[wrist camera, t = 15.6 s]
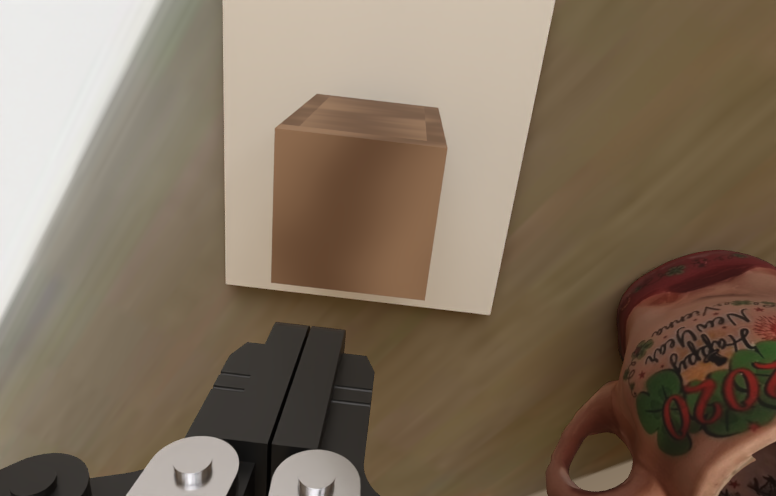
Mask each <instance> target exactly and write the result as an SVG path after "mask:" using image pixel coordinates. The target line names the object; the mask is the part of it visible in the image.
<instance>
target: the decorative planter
mask: <svg viewBox="0 0 776 496" xmlns="http://www.w3.org/2000/svg"><path fill="white" fill-rule="evenodd" d="M617 327H618V347H619V353H620V356H621V359H622V361H623V366H622V369H621V372H620V376H619V380H617V381H609V382H608V383H606V384H605V385H604V386H602V387H601V388H600V389H599V390H598V391H597V392H596V393H595V394H594V395H593V396H592V397H591V398H590V399H589V400H588V401H587V402H586V403H585V404H584V405H583V406H582V407H581V408H580V409H579V410H578V411H577V412H576V414H575V416H574V417H573V419H572V420H571V422H570V423H569V424H568V425H567V426H566V428H565V429H564V431H563V433H562V435H561V438H560V440H559V442H558V444H557V446H556V448H555V450H554V452H553V454H552V456H551V462H550V464H549V466H548V468H547V470H546V487H547V494H548V496H776V267H774V266H773V265H772V264H770V263H768V262H766V261H764V260H762V259H759V258H757V257H754V256H751V255H747V254H743V253H738V252H733V251H725V250H712V251H704V252H698V253H694V254H690V255H687V256H683V257H680V258H677V259H674V260H672V261H669V262H667V263H665V264H663V265H661V266H659V267H658V268H656V269H654V270H652V271H650V272H648V273H647V274H645V275H644V276H642V277H641V278H639V279H638V280H636V281H635V282H634V283H633V284H632V285H631V286H630V287H629V288H628V289H627V290H626V292H625V293H624V295H623V296H622V299H621V301H620V303H619V307H618V310H617ZM603 432H610V433H614V434H616V435H617V436H618V437H619V438H620V439H621V440H622V441H623V442H624V443H625V444H626V446H627V447H628V449H629V451H630V453H631V455H632V457H633V465H632V470H631V472H630V474H629V477H628V478H627V479H626V480H625V481H624V482H623V483H621V484H620V485H618V486H617V487H615V488H612V489H609V490H606V491H599V492H591V491H586V490H583V489H581V488H579V487H578V486H577V485H576V484H575V483H574V482H573V481H572V480H570V477H569V467H570V464H571V462H572V460H573V458H574V456H575V454H576V452H577V451H578V449H579V447H580V445H581V444H582V442H583V440H584V439H585V438H586V437H587V436H588V435H594V434H598V433H603Z"/></svg>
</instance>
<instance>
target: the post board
mask: <svg viewBox="0 0 776 496" xmlns="http://www.w3.org/2000/svg"><path fill="white" fill-rule="evenodd" d="M554 4H555V0H223V72H224V168H225V264H226V284H229V285H238V286H246V287H255V288H263V289H272V290H280V291H289V292H297V293H306V294H314V295H323V296H331V297H340V298H349V299H357V300H366V301H374V302H383V303H391V304H400V305H408V306H417V307H425V308H434V309H442V310H451V311H459V312H468V313H476V314H485V315H490V313H491V308H492V304H493V299H494V294H495V289H496V284H497V279H498V275H499V270H500V265H501V260H502V255H503V250H504V246H505V241H506V236H507V231H508V226H509V221H510V217H511V212H512V207H513V202H514V197H515V192H516V188H517V183H518V178H519V173H520V168H521V163H522V159H523V154H524V149H525V144H526V139H527V134H528V130H529V125H530V120H531V115H532V110H533V105H534V101H535V96H536V91H537V86H538V81H539V76H540V72H541V67H542V62H543V57H544V52H545V47H546V43H547V38H548V33H549V28H550V23H551V18H552V14H553V9H554ZM316 94H324V95H332V96H341V97H350V98H358V99H367V100H376V101H384V102H393V103H402V104H410V105H419V106H428V107H436V108H438V109H439V113H440V117H441V122H442V126H443V130H444V135H445V139H446V144H447V148H448V149H447V155H446V162H445V169H444V175H443V182H442V189H441V195H440V202H439V209H438V215H437V222H436V229H435V235H434V242H433V249H432V255H431V262H430V269H429V275H428V282H427V289H426V296H425V301H424V300H415V299H407V298H398V297H389V296H381V295H372V294H364V293H355V292H346V291H338V290H329V289H320V288H312V287H303V286H295V285H286V284H277V283H271V260H272V219H273V178H274V137H275V128H276V127H277V126H278V125H279V124H281V123H282V122H283V121H284V120H285V119H287V118H288V117H289V116H290V115H292V114H293V113H294V112H295V111H296V110H298V109H299V108H300V107H301V106H303V105H304V104H305V103H306V102H307V101H309V100H310V99H311V98H312V97H314V96H315V95H316Z"/></svg>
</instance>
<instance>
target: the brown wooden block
mask: <svg viewBox="0 0 776 496" xmlns="http://www.w3.org/2000/svg"><path fill="white" fill-rule="evenodd" d="M447 149H448V148H447V144H446V139H445V135H444V130H443V126H442V122H441V117H440V113H439V109H438V108H436V107H428V106H419V105H410V104H402V103H393V102H384V101H376V100H367V99H358V98H350V97H341V96H332V95H324V94H316V95H315V96H314V97H312V98H311V99H310V100H309V101H307V102H306V103H305V104H304V105H303V106H301V107H300V108H299V109H298V110H296V111H295V112H294V113H293V114H292V115H290V116H289V117H288V118H287V119H285V120H284V121H283V122H282V123H281V124H279V125H278V126H277V127H276V128H275V137H274V178H273V219H272V260H271V283H277V284H286V285H295V286H303V287H312V288H320V289H329V290H338V291H346V292H355V293H364V294H372V295H381V296H389V297H398V298H407V299H415V300H424V301H425V296H426V289H427V282H428V275H429V269H430V262H431V255H432V249H433V242H434V235H435V229H436V222H437V215H438V209H439V202H440V195H441V189H442V182H443V175H444V169H445V162H446V155H447Z"/></svg>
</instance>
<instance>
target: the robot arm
mask: <svg viewBox="0 0 776 496" xmlns="http://www.w3.org/2000/svg"><path fill="white" fill-rule="evenodd" d="M345 336H346V331H345V330H341V329H332V328H324V327H315V326H312V327H311V329H310V326H305V325H297V324H288V323H280V322H276V323H275V324H274V326H273V328H272V330H271V332H270V335H269V337H268V339H267V341H266V343H265V344H258V343H249V342H247V343H246V344H244V345H243V346H242V347H240V348H239V349H238V350H236V351H235V352H234V353H232V354H231V355H230V356H229V358H228V360H227V361H226V363H225V365H224V367H223V369H222V371H221V374H220V375H219V376H218V378H217V380H216V382H215V383H214V385H213V389H211V391H210V393H209V394H208V396H207V398H206V400H205V402H204V403H203V405H202V407H201V409H200V411H199V413H198V414H197V416H196V418H195V420H194V422H193V424H192V425H191V427H190V429H189V431H188V433H187V435H186V436H185V438H184V439H181V440H178V441H175V442H173V443H171V444H169V445H167V446H166V447H164V448H163V449H161V450H160V451H159V452H158V453H157V454H156V455H155V456H154V457H153V458H152V459H151V461H150V462H149V464H148V465H147V466H146V468H145V469H143V470H139V471H136V472H131V473H125V474H118V475H111V476H104V477H96V478H89V472H88V468H87V467H86V465H85V463H83V462H82V461H81V460H80V459H78V458H77V457H74V456H72V455H68V454H62V453H50V454H42V455H37V456H33V457H30V458H26V459H24V460H21V461H19V462H17V463H14V464H12V465H10V466H8V467H6V468H3V469H1V470H0V496H380V495H379V494H378V493H376V492H375V490H374V489H373V488H372V487H371V486H370V484H369V482H368V481H367V478H366V476H365V473H364V457H365V449H366V441H367V432H368V424H369V415H370V406H371V398H372V389H373V381H374V370H373V368H372V366H371V364H370V362H369V360H368V358H367V356H361V355H352V354H344V348H345Z"/></svg>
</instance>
